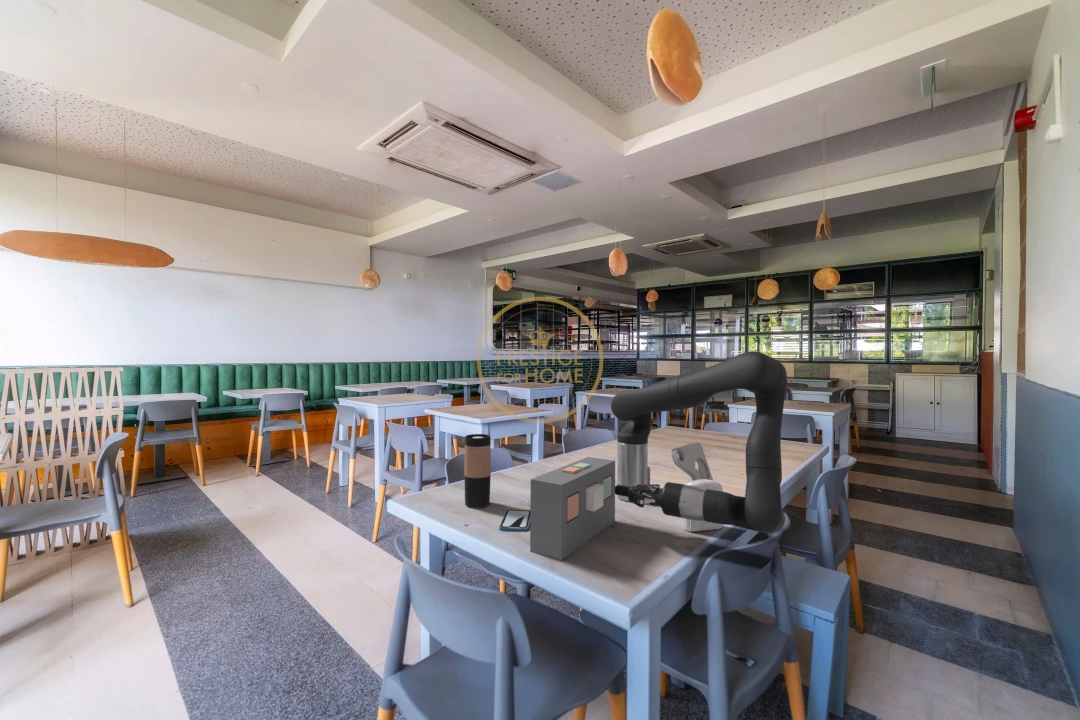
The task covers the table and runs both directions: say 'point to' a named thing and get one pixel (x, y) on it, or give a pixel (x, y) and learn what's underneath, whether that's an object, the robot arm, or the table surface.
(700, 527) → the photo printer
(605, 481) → the sage key
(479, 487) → the travel mug
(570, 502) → the terracotta key
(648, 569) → the table surface
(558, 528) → the keypad console
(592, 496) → the white key
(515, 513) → the smartphone
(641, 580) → the table surface
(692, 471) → the phone holder
